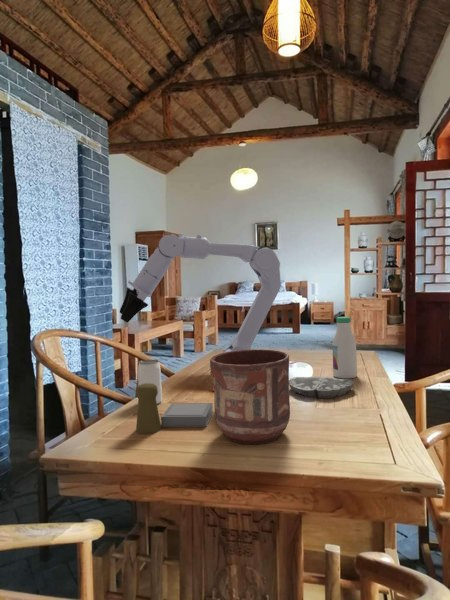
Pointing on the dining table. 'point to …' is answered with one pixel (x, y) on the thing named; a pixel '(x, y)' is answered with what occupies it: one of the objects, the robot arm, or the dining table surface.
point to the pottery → (251, 394)
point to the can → (150, 375)
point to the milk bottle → (344, 350)
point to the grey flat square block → (187, 415)
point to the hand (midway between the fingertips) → (123, 317)
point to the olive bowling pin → (147, 409)
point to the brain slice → (320, 386)
